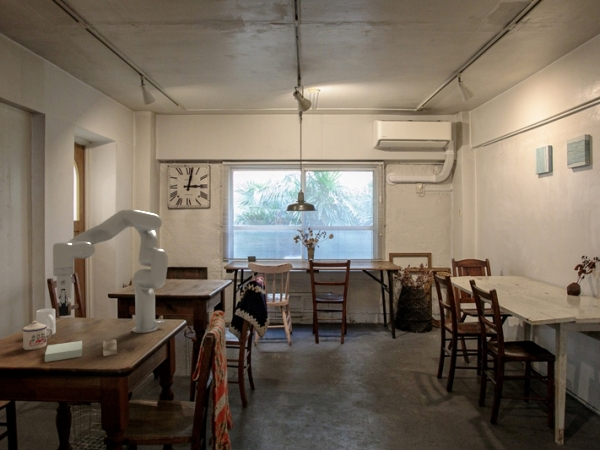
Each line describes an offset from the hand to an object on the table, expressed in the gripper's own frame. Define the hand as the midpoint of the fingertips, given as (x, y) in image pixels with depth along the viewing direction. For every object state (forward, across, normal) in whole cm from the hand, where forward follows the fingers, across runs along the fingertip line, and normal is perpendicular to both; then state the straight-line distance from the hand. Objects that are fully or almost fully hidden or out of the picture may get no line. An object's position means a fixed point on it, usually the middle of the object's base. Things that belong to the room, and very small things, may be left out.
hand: (64, 313), depth 164 cm
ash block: (+18, -8, -17) cm, 26 cm away
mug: (+18, +38, +9) cm, 43 cm away
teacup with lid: (+18, +19, +11) cm, 28 cm away
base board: (+17, 0, 0) cm, 17 cm away
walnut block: (+1, 0, 0) cm, 1 cm away
